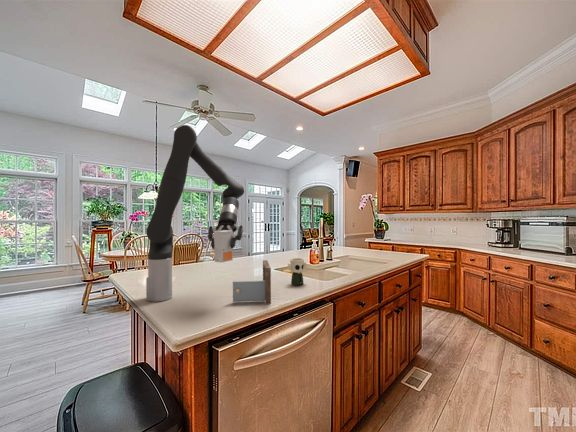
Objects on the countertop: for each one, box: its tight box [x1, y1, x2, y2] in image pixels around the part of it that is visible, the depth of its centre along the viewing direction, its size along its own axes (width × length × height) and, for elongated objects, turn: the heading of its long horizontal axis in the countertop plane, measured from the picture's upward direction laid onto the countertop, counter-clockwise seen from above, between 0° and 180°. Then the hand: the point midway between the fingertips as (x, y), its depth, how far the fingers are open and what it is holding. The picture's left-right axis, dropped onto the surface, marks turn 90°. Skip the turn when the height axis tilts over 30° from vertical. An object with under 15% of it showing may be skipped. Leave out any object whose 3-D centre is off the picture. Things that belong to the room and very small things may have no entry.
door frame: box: [262, 259, 272, 305], centre depth 112 cm, size 2×19×14 cm, turn 9°
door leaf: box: [232, 280, 266, 303], centre depth 104 cm, size 3×14×8 cm, turn 94°
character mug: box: [287, 257, 307, 286], centre depth 132 cm, size 11×7×13 cm, turn 119°
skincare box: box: [213, 230, 234, 263], centre depth 102 cm, size 6×4×12 cm
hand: (222, 247), depth 100 cm, fingers closed on skincare box, 6 cm apart
